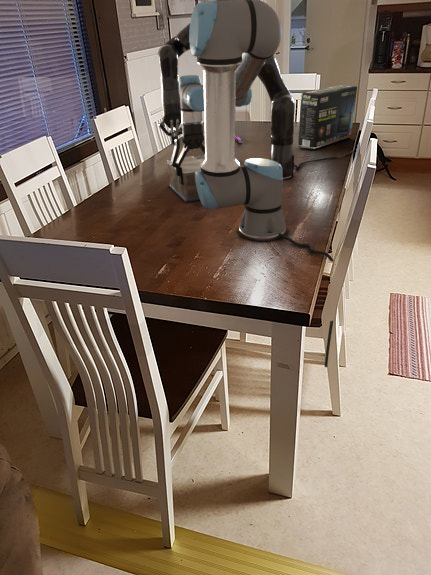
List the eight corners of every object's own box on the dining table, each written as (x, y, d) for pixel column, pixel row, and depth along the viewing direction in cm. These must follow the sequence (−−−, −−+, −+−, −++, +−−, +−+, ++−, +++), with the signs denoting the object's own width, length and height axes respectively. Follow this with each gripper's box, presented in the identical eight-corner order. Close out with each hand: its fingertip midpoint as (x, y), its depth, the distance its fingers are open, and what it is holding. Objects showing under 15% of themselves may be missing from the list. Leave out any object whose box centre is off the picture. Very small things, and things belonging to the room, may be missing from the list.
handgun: (221, 137, 265) (221, 133, 264) (234, 135, 266) (234, 132, 265) (229, 145, 248) (229, 141, 247) (243, 143, 249) (243, 140, 248)
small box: (169, 186, 193) (167, 159, 187) (194, 182, 196) (192, 156, 191) (185, 202, 176) (183, 173, 170) (212, 197, 179) (211, 169, 174)
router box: (314, 151, 231) (318, 94, 217) (296, 148, 237) (299, 92, 224) (352, 138, 251) (358, 85, 238) (335, 135, 258) (340, 83, 245)
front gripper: (218, 117, 172) (220, 174, 183) (157, 124, 165) (163, 183, 176) (226, 120, 166) (227, 179, 177) (163, 128, 159) (169, 189, 170)
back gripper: (184, 98, 187) (187, 141, 196) (152, 101, 183) (157, 145, 192) (190, 100, 181) (192, 145, 190) (158, 104, 177) (162, 149, 186)
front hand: (195, 181), depth 177 cm, fingers closed on small box, 11 cm apart
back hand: (174, 145), depth 191 cm, fingers closed
